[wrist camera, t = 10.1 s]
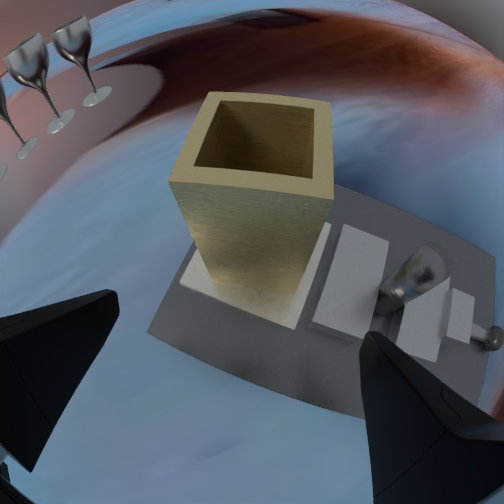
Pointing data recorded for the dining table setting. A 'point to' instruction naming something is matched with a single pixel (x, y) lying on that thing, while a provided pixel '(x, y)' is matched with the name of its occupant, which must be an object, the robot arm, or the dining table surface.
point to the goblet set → (36, 68)
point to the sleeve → (256, 186)
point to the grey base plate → (345, 309)
